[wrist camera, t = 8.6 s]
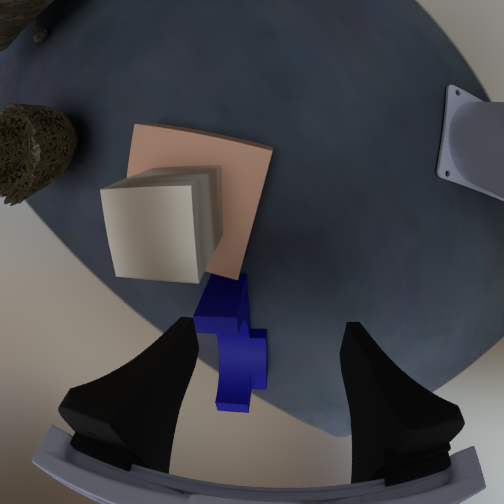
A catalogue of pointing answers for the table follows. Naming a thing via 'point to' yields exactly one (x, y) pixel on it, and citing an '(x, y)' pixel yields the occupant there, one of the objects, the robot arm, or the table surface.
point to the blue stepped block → (233, 341)
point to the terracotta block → (232, 178)
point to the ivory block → (164, 222)
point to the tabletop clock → (20, 19)
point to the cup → (33, 149)
